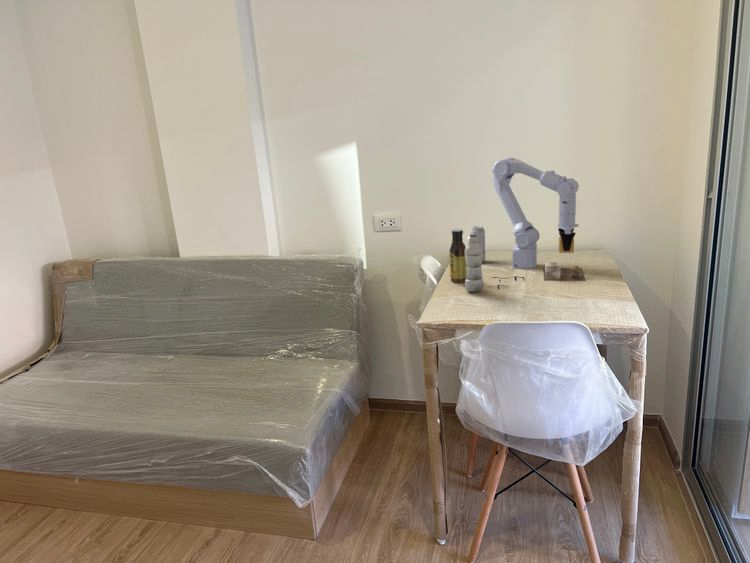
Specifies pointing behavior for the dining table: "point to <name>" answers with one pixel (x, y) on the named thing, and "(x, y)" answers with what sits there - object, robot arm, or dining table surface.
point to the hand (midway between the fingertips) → (566, 248)
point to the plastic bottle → (473, 264)
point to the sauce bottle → (457, 257)
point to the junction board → (562, 273)
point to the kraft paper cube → (562, 247)
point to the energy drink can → (479, 237)
